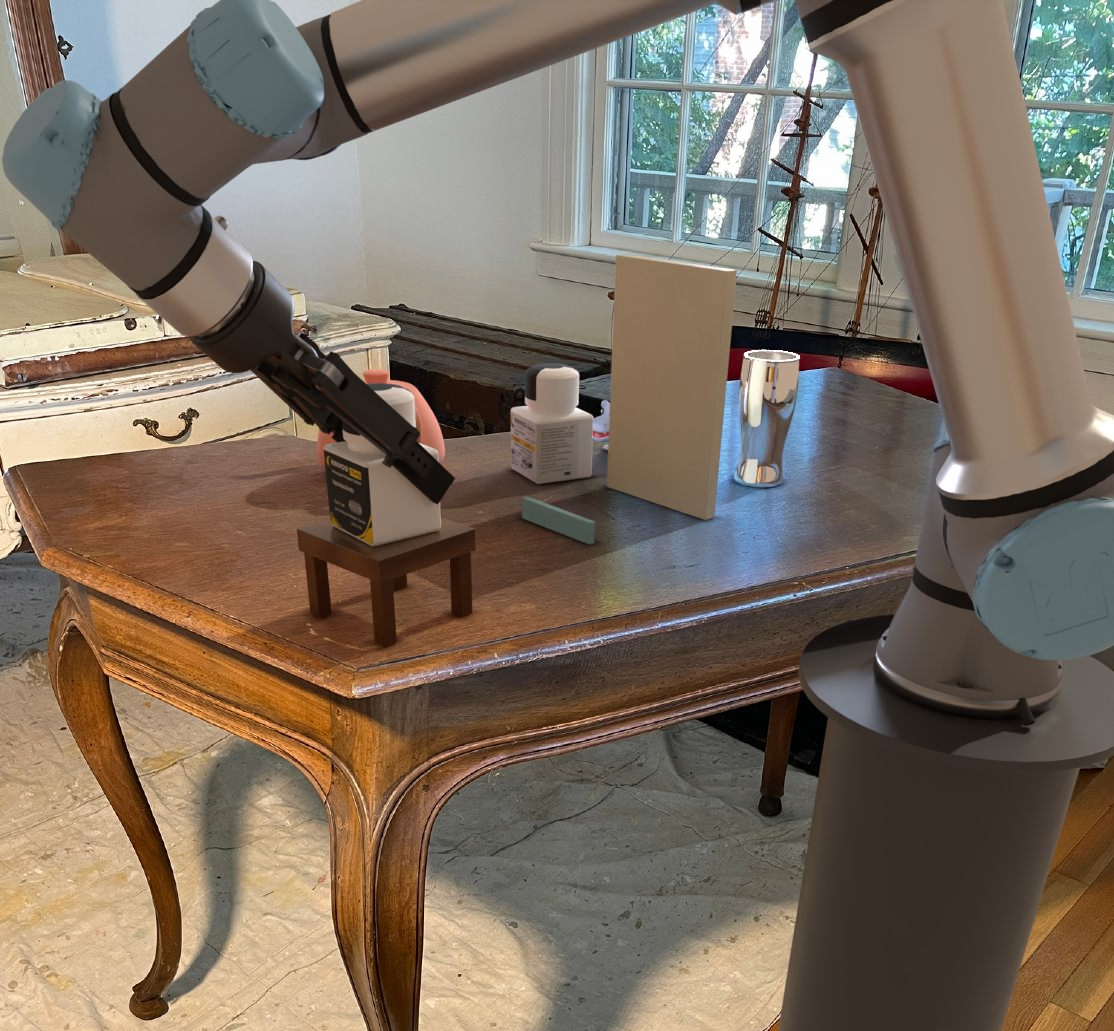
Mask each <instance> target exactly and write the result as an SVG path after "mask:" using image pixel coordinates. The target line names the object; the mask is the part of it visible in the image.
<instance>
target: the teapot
mask: <svg viewBox="0 0 1114 1031" xmlns="http://www.w3.org/2000/svg"><path fill="white" fill-rule="evenodd" d="M362 376H363V378H364V380H363V381H364V382H365V383H366V384H369V383H388V384H395V385H399V386H402V387H404V388H406V389H408V390H410V391H411V392H412V394H413V395H414V399H415V421H416V429H417V430H418V431H419V432H420V436H419V437H418V439H417V442H418V443H420V444H423V445H426V446H428V447H431V448H433V449H436V450H437V451H438V458H439V463H440V464H441V463H442V462H443V460H444V458H445V456H446V455H445V454H446V447H445V441H444V437H443V434H442V430H441V426H440V424H439V422H438V419H437V418H436V416H435V413H434V412H433V410H432V409H431V407H430V405H429V403H428V402H427V401H426V399H425V398H424V396H423V395H422V393H421V392H420V391H419V389H418V388H417V386H416V385H413V384H411V383H409V382H406V381H401V380H396V379H395V380H394V379H393V380H392V379H389V378H390V371H389V370H386V369H382V368H373V369H367V370H364V371H363V372H362ZM317 432H318V433H317V438H316V458H317V460H318V462H319V464H320V465H321V466H322V467H323V468H324V469H325V460H324V446H325V445H327V444H333V443H337V442H336V441H335V440H334V439H332V436H333V435H334V433H332V432H331V433H330V435H329V434H327V433H323V432H322V431H321V430H320V429H319V428H318V431H317Z"/></svg>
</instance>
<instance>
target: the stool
mask: <svg viewBox="0 0 1114 1031" xmlns="http://www.w3.org/2000/svg"><path fill="white" fill-rule="evenodd" d="M296 535H297V536H296V538H297V545H298V551H299V552H302V553H303V556H304V566H305V575H306V585H307V595H308V604H309V614H311V615H312V616H315V617H317V618H319V619H320V618H323V617H325V616H329V615H331V614H333V613H332V612H333V611H332V602H331V589H330V580H329V569H328V563H329V564H330V565H334V566H336V567H338V568H341V569H343V570H346V571H348V572H351V573H353V574H355V575H357V576H359V577H363V578H366V579H368V580H369V585H370V586H369V587H370V600H371V614H372V627H373V639H374V641H373V642H374V643H375V644H377V645H378V646H381V647H383V648H387V647H390V646H392V645H395V644H397V643H398V640H397V638H398V637H397V622H396V606H395V605H396V604H395V592H394V590H395V591H398V590H401V589H404V588H408V574H412V573H414V572H417V571H419V570H423V569H426V568H428V567H431V566H435V565H438V564H440V563H442V562H443V563H444V562H447V561H449V575H450V576H449V580H450V582H449V583H450V611H451V614H453V615H456V616H458V617H460V618H462V617H463V618H464V617H465V616H468V615H470V614H473V582H472V581H473V578H472V577H473V576H472V575H473V574H472V552H475V551H476V550H477V544H476V542H477V541H476V540H477V538H476V528H474V527H471V526H468V525H466V524H462V523H460V522H457V521H454V520H450V519H447V518H445V517H441V529H440V530H439V531H436V532H432V533H428V534H424V535H420V536H416V537H412V538H408V539H403V540H399V541H395V542H391V543H387V544H383V545H379V546H375V547H372V546H370V545H368V544H366V543H364V542H362V541H360V540H359V539H357V538H355V537H353V536H351V535H349V534H347V533H345V532H343V531H341V530H339V529H337V528H336V527H334V526H332V525H331V524H330V518H329V519H327V520H322V521H319V522H315V523H312V524H309V525H305V526H302V527H297V528H296Z"/></svg>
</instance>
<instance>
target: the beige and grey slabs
mask: <svg viewBox="0 0 1114 1031" xmlns="http://www.w3.org/2000/svg"><path fill="white" fill-rule="evenodd" d="M737 273H738V270H737V269H733V268H725V267H718V266H712V265H704V264H698V263H691V262H684V261H678V260H677V261H676V260H669V259H663V258H654V257H649V256H642V255H634V254H628V253H625V254H616V255H615V272H614V276H615V277H614V295H613V317H612V318H613V320H612V344H611V346H612V347H611V348H612V349H611V370H610V371H611V372H610V397H609V403H610V419H609V441H608V443H607V444H608V450H607V474H606V487H607V488H609V489H611V490H615V491H618V492H621V493H624V494H627V495H629V496H633V497H635V498H638V499H640V500H641V499H642V500H645V501H648V502H651V503H653V504H657V505H660V506H662V507H666V508H668V509H671V510H674V511H676V512H680V513H683V514H686V515H689V516H692V517H695V518H697V519H701V520H703V521H707V520H710V519H714V518H715V515H716V505H717V504H716V503H717V502H716V501H717V493H718V484H719V483H718V482H719V472H720V459H721V450H722V449H721V448H722V438H723V429H724V428H723V427H724V419H725V418H724V415H725V407H726V406H725V404H726V395H727V384H728V375H729V374H728V372H729V363H730V362H729V361H730V352H731V350H730V349H731V340H732V329H733V318H734V309H735V308H734V307H735V297H736V285H737V284H736V283H737ZM521 503H522V504H521V509H522V510H521V518H522V519H523V520H526V521H528V522H531V523H533V524H536V525H539V526H541V527H544V528H546V529H548V530H551V531H553V532H556V533H558V534H561V535H564V536H567V537H568V538H571V539H574V540H576V541H579V542H581V543H584V544H587V545H593V544H595V537H596V536H595V533H596V521H594V520H593V519H590V518H586V517H584V516H581V515H578V514H576V513H573V512H571V511H567V510H565V509H563V508H560V507H557V506H554V505H552V504H549V503H546V502H543V501H541V500H538V499H535V498H533V497H530V496H524V497H522V498H521Z"/></svg>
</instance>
